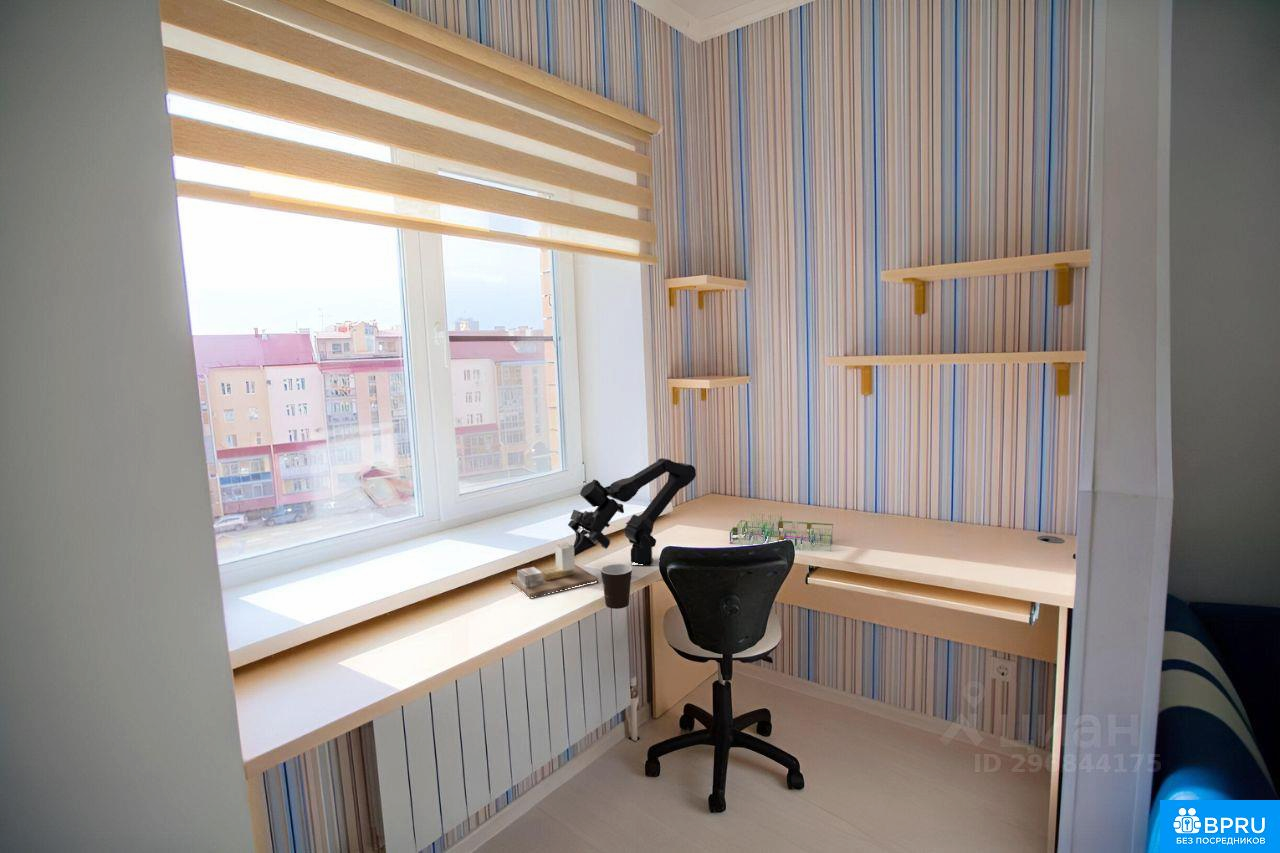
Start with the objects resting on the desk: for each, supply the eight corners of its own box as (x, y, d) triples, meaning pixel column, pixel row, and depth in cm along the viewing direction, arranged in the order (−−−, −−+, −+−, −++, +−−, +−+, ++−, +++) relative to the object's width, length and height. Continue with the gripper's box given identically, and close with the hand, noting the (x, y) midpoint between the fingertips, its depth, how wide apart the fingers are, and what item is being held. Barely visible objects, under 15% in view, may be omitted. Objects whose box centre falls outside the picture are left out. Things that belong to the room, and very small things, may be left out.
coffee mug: (626, 611, 170) (625, 575, 169) (596, 608, 173) (595, 572, 172) (640, 596, 181) (639, 562, 180) (612, 593, 184) (611, 559, 183)
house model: (729, 545, 228) (729, 532, 228) (743, 524, 256) (742, 513, 256) (831, 553, 217) (831, 539, 217) (833, 530, 245) (833, 518, 245)
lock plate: (574, 568, 206) (574, 553, 205) (598, 582, 192) (597, 566, 192) (509, 582, 194) (509, 566, 194) (529, 598, 181) (529, 581, 180)
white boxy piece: (567, 570, 198) (566, 542, 197) (574, 575, 194) (574, 546, 193) (541, 576, 194) (540, 547, 193) (547, 581, 189) (546, 552, 188)
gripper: (572, 494, 205) (541, 533, 200) (600, 505, 189) (567, 548, 184) (594, 515, 210) (565, 553, 205) (623, 527, 194) (592, 569, 189)
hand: (571, 555), depth 196 cm, fingers closed
